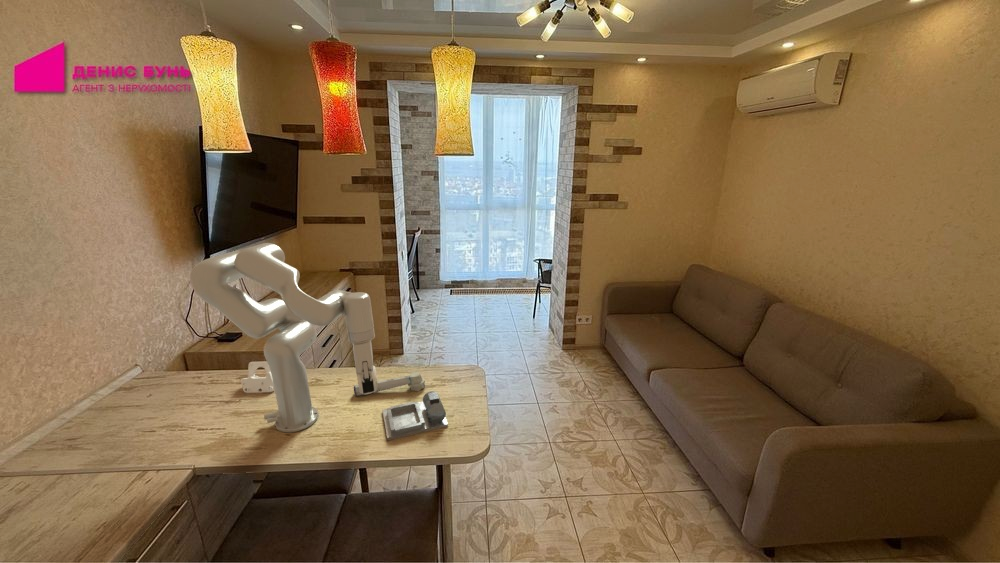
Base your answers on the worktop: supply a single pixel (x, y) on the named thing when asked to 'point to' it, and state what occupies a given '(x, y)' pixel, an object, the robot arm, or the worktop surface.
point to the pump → (372, 378)
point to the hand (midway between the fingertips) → (368, 386)
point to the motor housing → (415, 417)
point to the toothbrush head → (398, 383)
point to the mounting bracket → (258, 379)
